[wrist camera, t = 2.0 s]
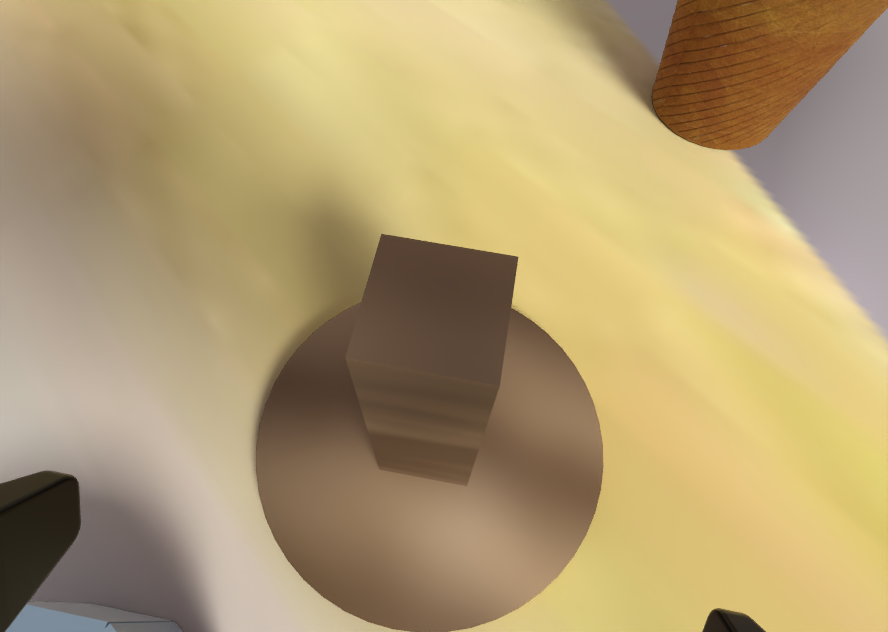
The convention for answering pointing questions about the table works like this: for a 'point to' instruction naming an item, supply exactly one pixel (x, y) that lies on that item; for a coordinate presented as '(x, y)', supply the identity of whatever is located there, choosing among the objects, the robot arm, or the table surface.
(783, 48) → the disposable coffee cup
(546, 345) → the walnut lid
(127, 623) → the slate bowl
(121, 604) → the table surface
